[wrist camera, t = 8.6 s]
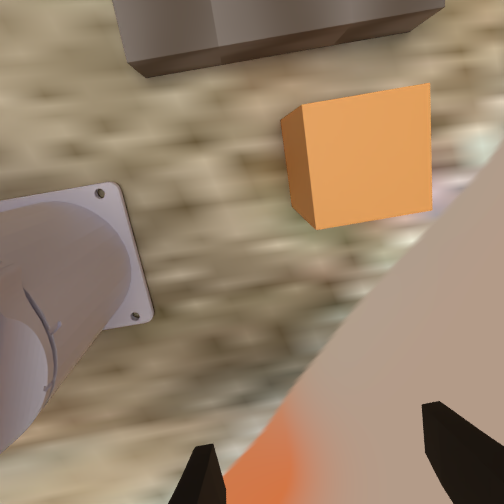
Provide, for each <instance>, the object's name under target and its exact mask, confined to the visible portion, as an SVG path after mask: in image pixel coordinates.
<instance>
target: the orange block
mask: <svg viewBox="0 0 504 504" xmlns="http://www.w3.org/2000/svg"><path fill="white" fill-rule="evenodd" d="M280 121H281V128H282V136H283V143H284V151H285V158H286V166H287V173H288V181H289V189H290V196H291V204H292V207H293V208H294V209H295V210H296V211H297V212H298V213H299V214H300V215H301V216H302V217H303V218H304V219H305V220H306V221H307V222H308V223H309V224H310V225H311V226H312V227H314V228H315V229H316V230H319V229H325V228H331V227H337V226H343V225H349V224H355V223H360V222H366V221H372V220H378V219H384V218H390V217H396V216H401V215H407V214H413V213H419V212H425V211H431V210H432V165H431V112H430V83H426V84H420V85H414V86H408V87H402V88H397V89H391V90H385V91H379V92H373V93H367V94H362V95H356V96H350V97H344V98H338V99H332V100H327V101H321V102H315V103H309V104H303V105H301V106H299V107H298V108H297V109H295V110H294V111H292V112H291V113H290V114H288V115H287V116H285V117H284V118H283V119H281V120H280Z"/></svg>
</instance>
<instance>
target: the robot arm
mask: <svg viewBox="0 0 504 504" xmlns="http://www.w3.org/2000/svg"><path fill="white" fill-rule="evenodd" d="M98 189H102V190H104V192H105V196H104V198H101V197H99V196H98V194H97V191H98ZM134 312H136V313H138V314H139V315H140V317H139V318H136V317H134V316H133V314H132V313H134ZM153 315H154V309H153V306H152V302H151V298H150V295H149V291H148V287H147V284H146V280H145V276H144V272H143V269H142V265H141V261H140V258H139V254H138V250H137V247H136V243H135V239H134V235H133V232H132V228H131V224H130V221H129V217H128V213H127V210H126V206H125V202H124V198H123V195H122V191H121V188H120V186H119V185H118V184H117V183H114V182H105V183H99V184H93V185H87V186H82V187H76V188H70V189H64V190H59V191H53V192H47V193H42V194H36V195H30V196H24V197H19V198H13V199H7V200H1V201H0V454H1V453H2V452H3V451H4V450H5V449H6V448H8V447H9V446H10V445H11V444H12V443H13V442H14V441H15V440H16V439H18V438H19V437H20V436H21V435H22V434H23V433H24V432H25V431H26V430H27V428H28V427H29V426H30V425H31V424H32V422H33V421H34V419H35V418H36V417H37V415H38V414H39V413H40V411H41V410H42V409H43V407H44V406H45V405H46V403H47V402H48V401H49V399H50V398H51V397H52V395H53V394H54V393H55V392H56V390H57V389H58V388H59V386H60V385H61V384H62V382H63V381H64V380H65V378H66V377H67V376H68V374H69V373H70V372H71V370H72V369H73V368H74V366H75V365H76V364H77V362H78V361H79V360H80V358H81V357H82V356H83V354H84V353H85V352H86V351H87V349H88V348H89V347H90V345H91V344H92V343H93V341H94V340H95V339H96V337H97V336H98V335H99V333H100V332H101V331H102V330H107V329H112V328H118V327H124V326H130V325H135V324H141V323H147V322H149V321H150V320H151V319H152V318H153ZM422 416H423V430H424V443H425V453H426V455H427V457H428V459H429V461H430V463H431V465H432V467H433V469H434V471H435V473H436V475H437V477H438V479H439V481H440V483H441V485H442V486H443V488H444V489H445V491H446V493H447V494H448V496H449V497H450V499H451V500H452V502H453V504H504V446H502V445H501V444H500V443H498V442H497V441H495V440H494V439H492V438H491V437H489V436H488V435H486V434H485V433H483V432H482V431H481V430H479V429H478V428H476V427H475V426H474V425H472V424H471V423H469V422H468V421H467V420H465V419H464V418H462V417H461V416H460V415H458V414H457V413H456V412H454V411H453V410H451V409H450V408H448V407H447V406H446V405H444V404H443V403H441V402H440V401H438V402H432V403H427V404H422ZM168 504H226V488H225V484H224V480H223V477H222V473H221V470H220V466H219V463H218V459H217V456H216V452H215V448H214V445H213V444H208V445H202V446H197V447H195V448H194V450H193V452H192V454H191V457H190V459H189V461H188V463H187V466H186V468H185V470H184V472H183V474H182V477H181V479H180V481H179V483H178V485H177V487H176V489H175V491H174V493H173V495H172V497H171V499H170V501H169V503H168Z"/></svg>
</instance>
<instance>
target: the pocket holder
mask: <svg viewBox="0 0 504 504" xmlns="http://www.w3.org/2000/svg"><path fill="white" fill-rule="evenodd" d="M112 2H113V6H114V10H115V14H116V18H117V22H118V27H119V31H120V35H121V39H122V43H123V47H124V51H125V56H126V60H127V63H128V64H129V65H131V66H132V67H133V68H134V69H135V70H137V71H138V72H139V73H140V74H141V75H143V76H144V77H145V78H149V77H154V76H160V75H166V74H171V73H177V72H183V71H188V70H194V69H200V68H206V67H211V66H217V65H223V64H228V63H234V62H240V61H245V60H251V59H257V58H263V57H268V56H274V55H280V54H285V53H291V52H297V51H302V50H308V49H314V48H320V47H325V46H331V45H337V44H342V43H348V42H354V41H359V40H365V39H371V38H377V37H382V36H388V35H394V34H399V33H405V32H410V31H411V30H413V29H414V28H415V27H417V26H418V25H420V24H421V23H423V22H424V21H425V20H427V19H428V18H430V17H431V16H433V15H434V14H435V13H437V12H438V11H440V10H441V9H443V8H444V7H445V0H112Z"/></svg>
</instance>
